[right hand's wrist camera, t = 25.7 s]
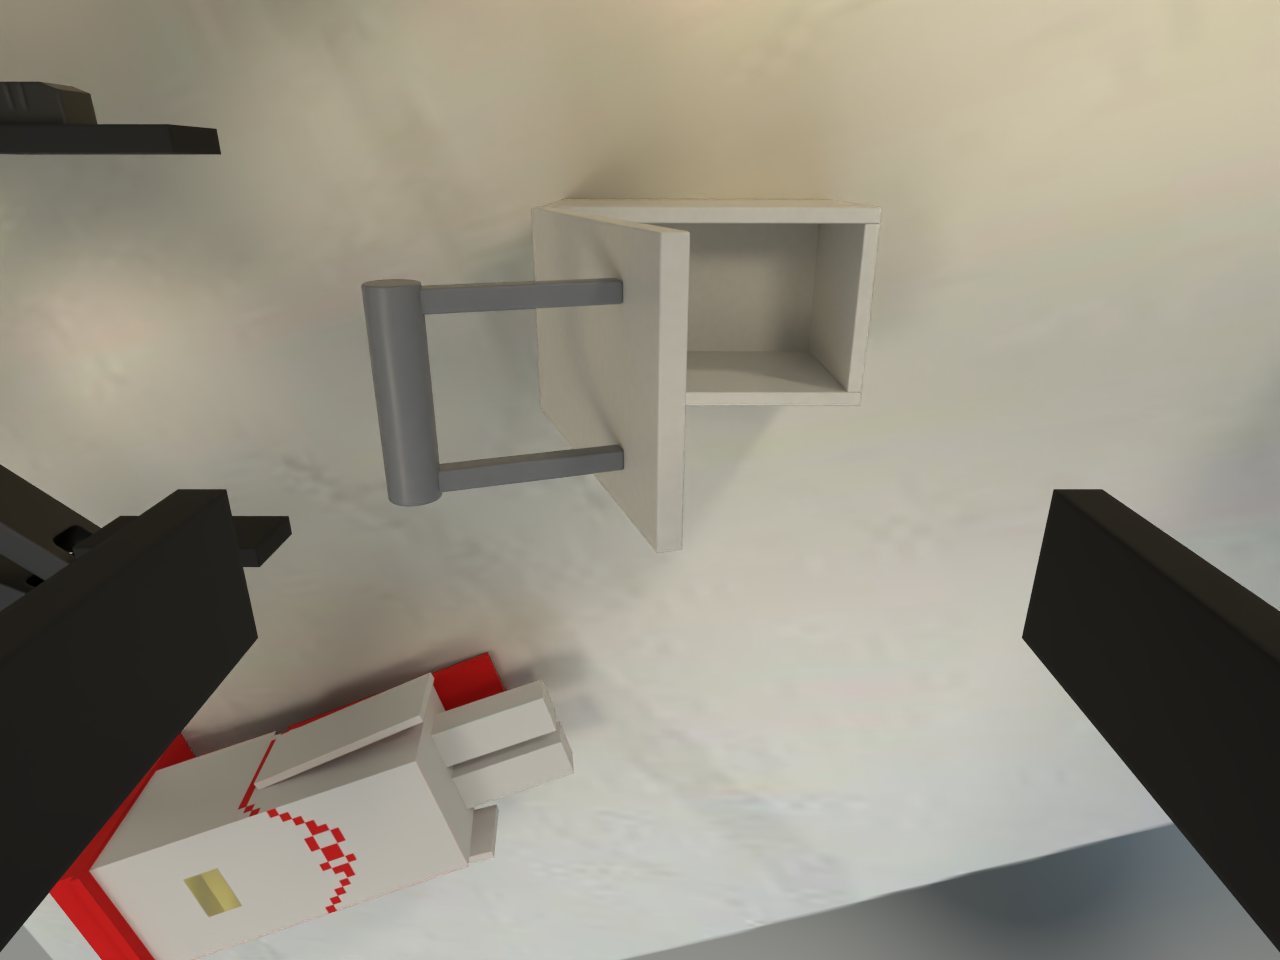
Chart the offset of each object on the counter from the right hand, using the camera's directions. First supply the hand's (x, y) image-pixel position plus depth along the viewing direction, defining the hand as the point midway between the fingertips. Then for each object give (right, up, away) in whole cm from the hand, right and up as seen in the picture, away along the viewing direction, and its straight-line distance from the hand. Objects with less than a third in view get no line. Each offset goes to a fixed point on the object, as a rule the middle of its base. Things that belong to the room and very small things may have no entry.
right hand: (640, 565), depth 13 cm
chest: (+3, +13, +32) cm, 35 cm away
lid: (-1, +6, +16) cm, 17 cm away
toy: (-20, -17, +44) cm, 52 cm away
